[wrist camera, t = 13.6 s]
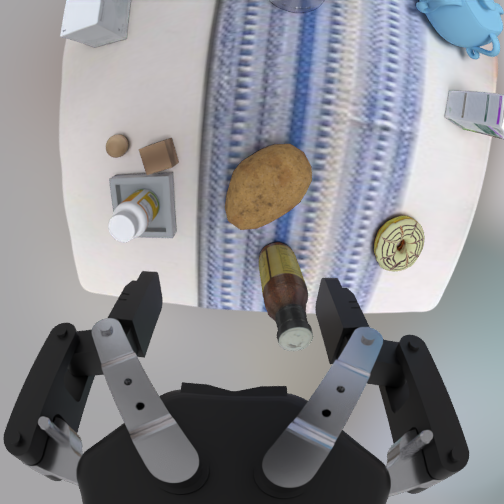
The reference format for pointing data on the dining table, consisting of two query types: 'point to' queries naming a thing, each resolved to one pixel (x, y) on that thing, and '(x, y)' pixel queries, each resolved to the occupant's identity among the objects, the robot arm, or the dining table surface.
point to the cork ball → (117, 146)
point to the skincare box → (95, 21)
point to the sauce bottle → (285, 295)
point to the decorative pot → (466, 23)
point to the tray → (163, 190)
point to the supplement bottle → (134, 215)
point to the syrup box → (477, 112)
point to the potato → (267, 186)
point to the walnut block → (159, 156)
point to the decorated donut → (392, 235)
